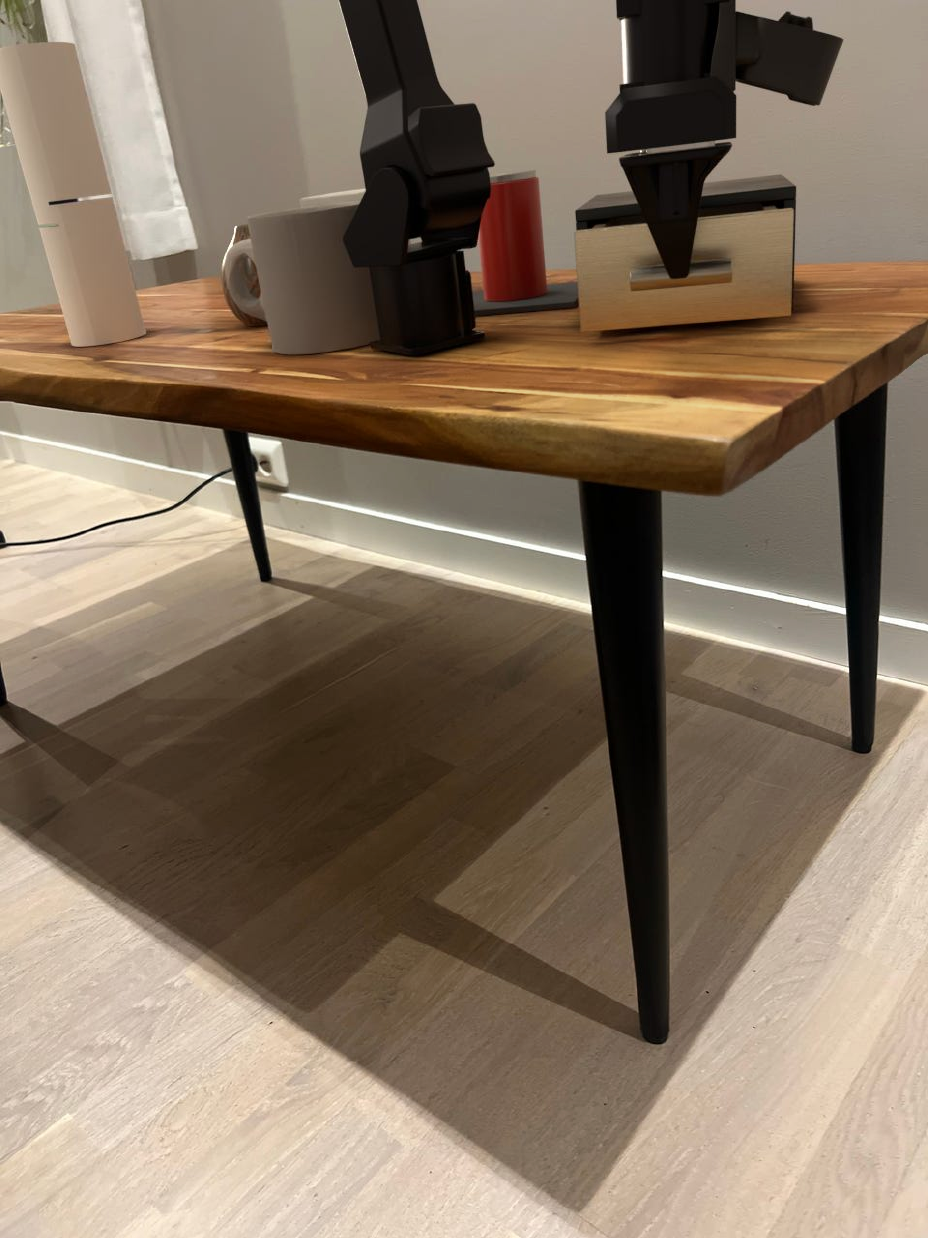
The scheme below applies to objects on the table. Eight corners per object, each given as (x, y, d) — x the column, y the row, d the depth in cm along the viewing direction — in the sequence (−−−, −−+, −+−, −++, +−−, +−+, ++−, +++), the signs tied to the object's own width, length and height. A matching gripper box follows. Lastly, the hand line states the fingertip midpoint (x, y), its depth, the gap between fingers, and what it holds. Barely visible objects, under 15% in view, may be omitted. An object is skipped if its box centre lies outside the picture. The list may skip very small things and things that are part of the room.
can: (510, 303, 84) (498, 175, 80) (472, 300, 89) (458, 178, 84) (560, 291, 87) (551, 167, 83) (520, 289, 91) (510, 171, 87)
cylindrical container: (132, 341, 94) (56, 38, 83) (60, 349, 95) (-26, 50, 84) (155, 328, 100) (87, 46, 90) (87, 336, 101) (11, 56, 90)
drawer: (796, 327, 59) (799, 215, 57) (573, 345, 62) (565, 239, 60) (777, 283, 75) (779, 193, 72) (599, 299, 78) (594, 213, 75)
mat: (575, 307, 81) (575, 301, 81) (435, 319, 84) (434, 313, 84) (590, 285, 92) (590, 279, 92) (465, 296, 95) (464, 291, 95)
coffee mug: (417, 327, 82) (399, 196, 77) (346, 353, 74) (322, 210, 70) (292, 330, 88) (269, 209, 84) (215, 355, 81) (186, 224, 77)
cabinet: (793, 312, 69) (796, 185, 65) (582, 329, 72) (574, 209, 69) (779, 281, 81) (781, 173, 78) (601, 297, 85) (595, 195, 81)
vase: (264, 329, 91) (244, 227, 87) (215, 329, 95) (194, 231, 91) (317, 315, 95) (300, 217, 92) (269, 315, 99) (251, 221, 96)
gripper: (858, -91, 42) (840, 290, 49) (818, -34, 58) (808, 246, 65) (596, -47, 45) (613, 308, 52) (627, -4, 61) (637, 262, 68)
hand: (679, 277), depth 59 cm, fingers closed
